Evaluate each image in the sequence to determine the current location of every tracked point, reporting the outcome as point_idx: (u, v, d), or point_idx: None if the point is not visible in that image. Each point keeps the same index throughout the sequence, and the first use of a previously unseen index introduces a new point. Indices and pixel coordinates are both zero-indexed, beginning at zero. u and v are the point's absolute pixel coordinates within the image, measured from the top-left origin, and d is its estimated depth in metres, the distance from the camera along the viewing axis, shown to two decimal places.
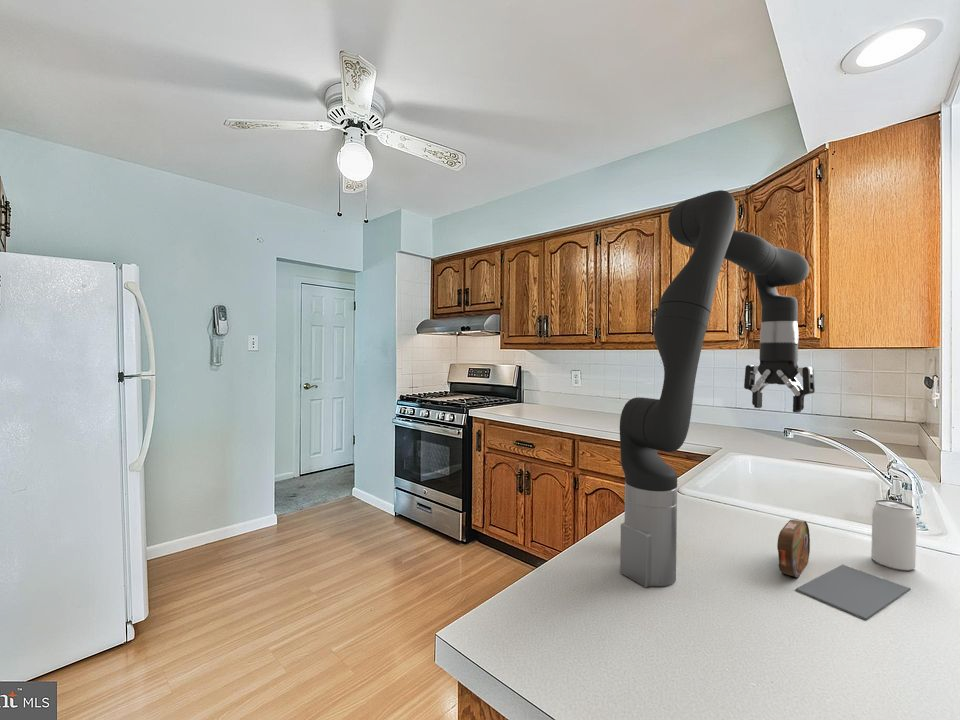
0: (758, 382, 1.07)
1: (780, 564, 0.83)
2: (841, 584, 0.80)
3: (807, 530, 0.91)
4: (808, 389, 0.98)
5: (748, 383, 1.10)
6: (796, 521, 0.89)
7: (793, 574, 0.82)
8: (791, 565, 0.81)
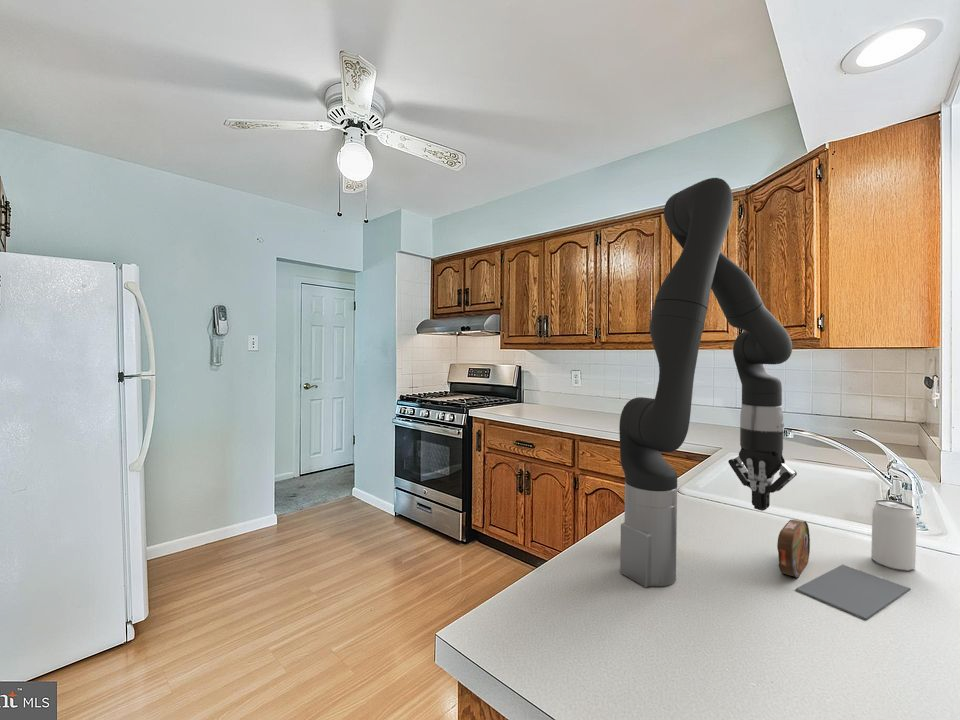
0: (750, 477, 0.93)
1: (780, 564, 0.83)
2: (841, 584, 0.80)
3: (807, 530, 0.91)
4: (774, 490, 0.89)
5: (743, 478, 0.94)
6: (796, 521, 0.89)
7: (793, 574, 0.82)
8: (791, 565, 0.81)
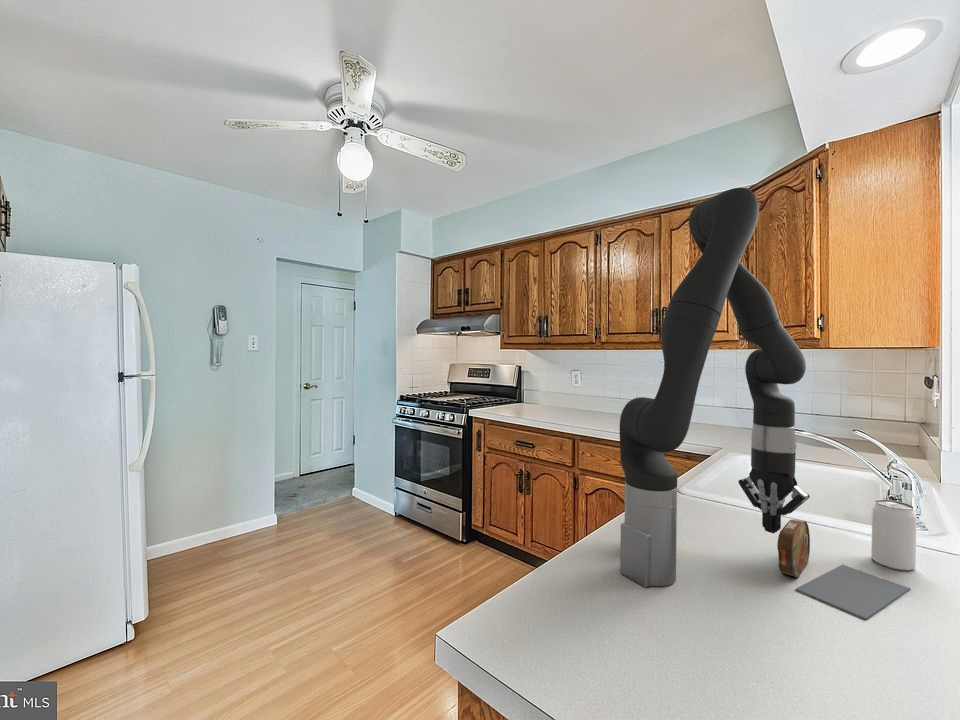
0: (761, 498, 0.91)
1: (780, 564, 0.83)
2: (841, 584, 0.80)
3: (807, 530, 0.91)
4: (786, 513, 0.87)
5: (754, 499, 0.92)
6: (796, 521, 0.89)
7: (793, 574, 0.82)
8: (791, 565, 0.81)
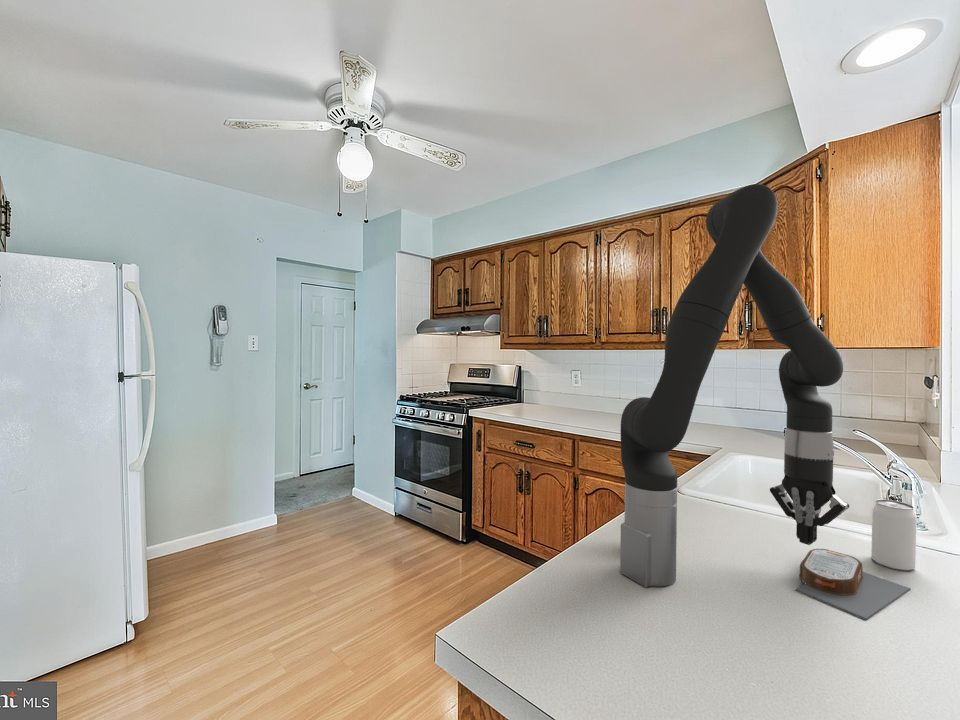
0: (796, 508, 0.85)
1: (815, 576, 0.79)
2: None
3: None
4: (823, 523, 0.82)
5: (787, 508, 0.87)
6: None
7: (804, 581, 0.81)
8: (817, 587, 0.78)
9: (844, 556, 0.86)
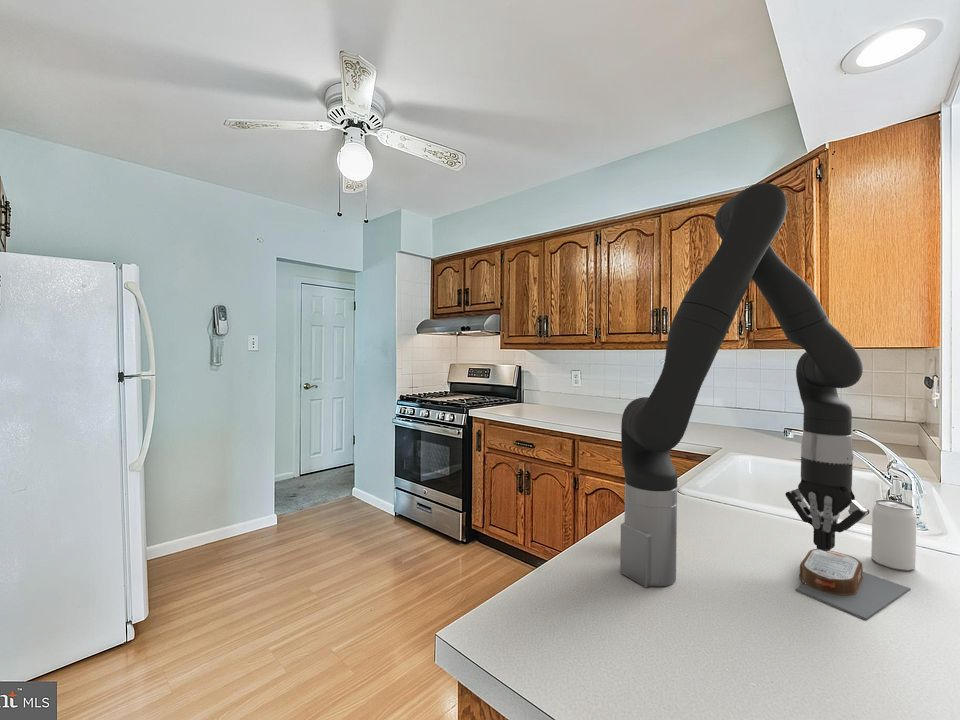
0: (813, 513, 0.83)
1: (815, 576, 0.79)
2: None
3: None
4: (842, 529, 0.79)
5: (804, 513, 0.84)
6: None
7: (804, 581, 0.81)
8: (817, 587, 0.78)
9: (844, 556, 0.86)
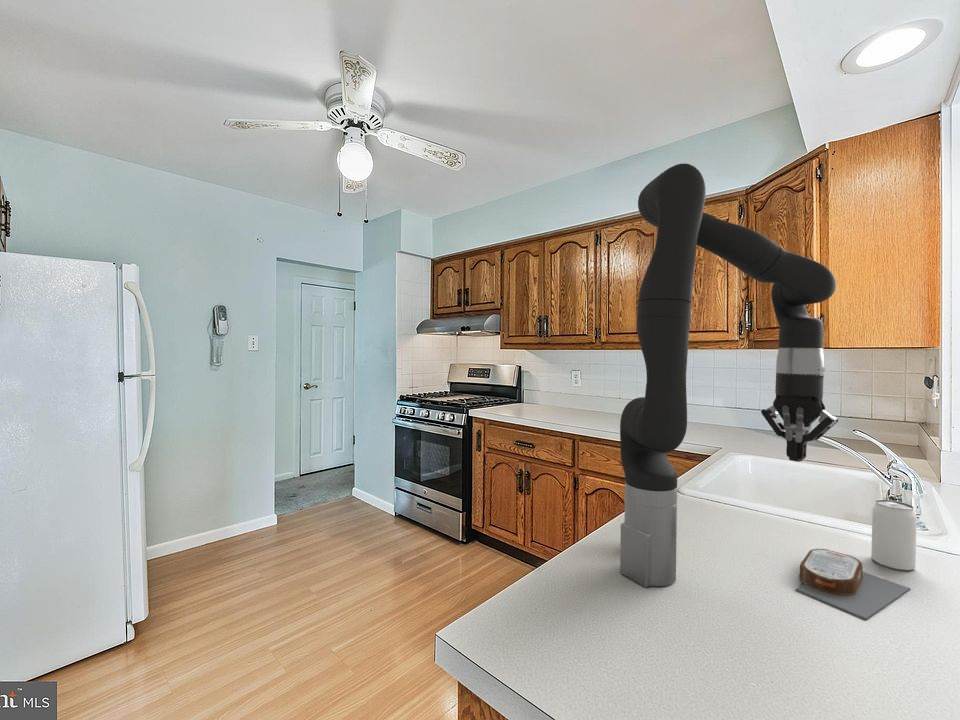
0: (786, 426, 0.87)
1: (815, 576, 0.79)
2: None
3: None
4: (812, 438, 0.83)
5: (778, 428, 0.88)
6: None
7: (804, 581, 0.81)
8: (817, 587, 0.78)
9: (844, 556, 0.86)
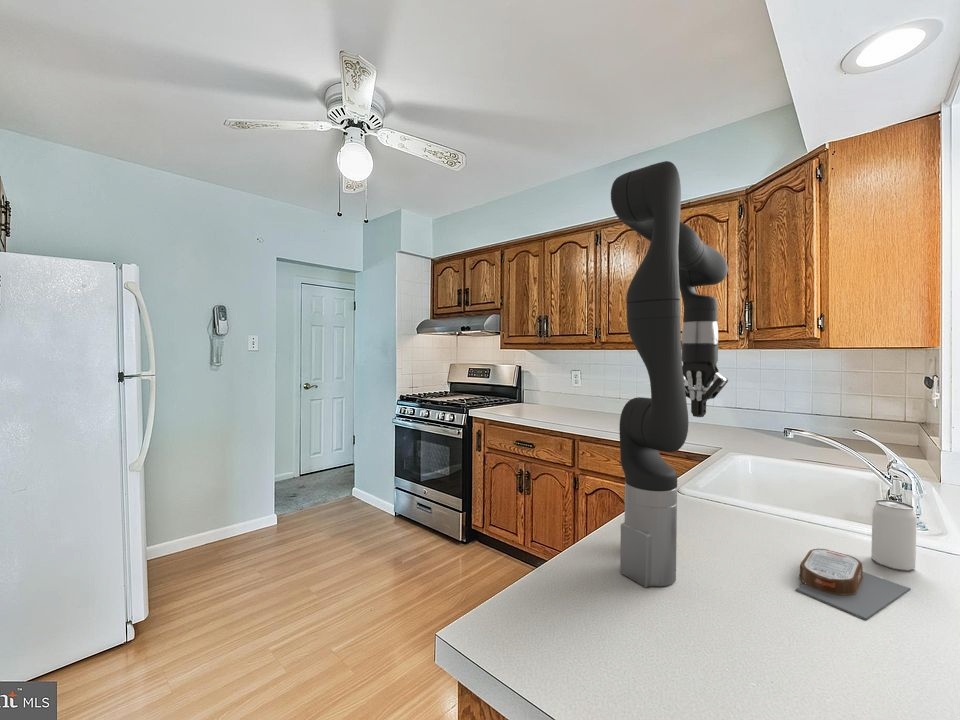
0: (689, 387, 1.03)
1: (815, 576, 0.79)
2: None
3: None
4: (708, 396, 1.00)
5: (684, 390, 1.05)
6: None
7: (804, 581, 0.81)
8: (817, 587, 0.78)
9: (844, 556, 0.86)
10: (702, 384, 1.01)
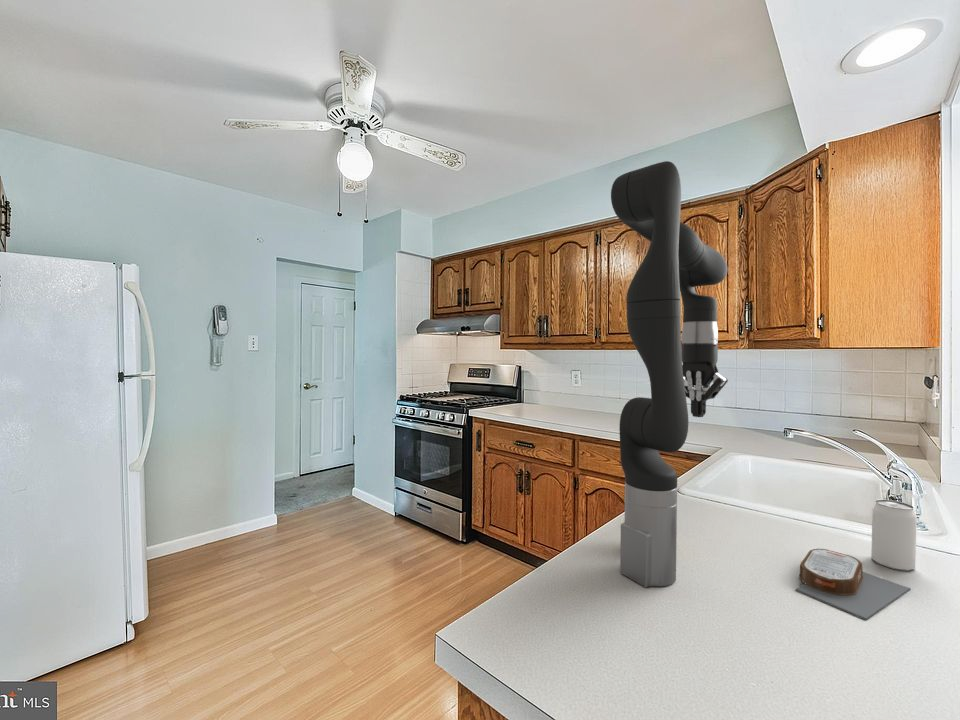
0: (689, 387, 1.03)
1: (815, 576, 0.79)
2: None
3: None
4: (708, 396, 1.00)
5: None
6: None
7: (804, 581, 0.81)
8: (817, 587, 0.78)
9: (844, 556, 0.86)
10: (702, 384, 1.01)
